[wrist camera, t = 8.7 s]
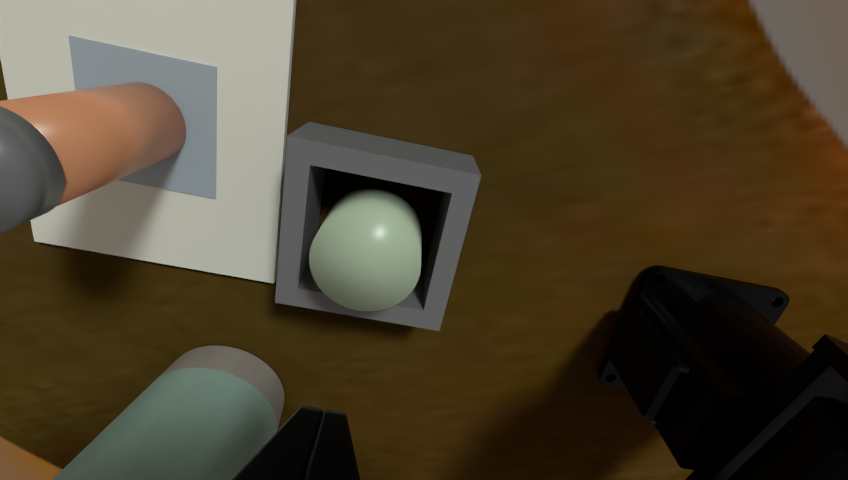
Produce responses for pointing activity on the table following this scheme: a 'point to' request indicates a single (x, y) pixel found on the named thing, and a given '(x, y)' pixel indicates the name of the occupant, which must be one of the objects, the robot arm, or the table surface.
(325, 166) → the button housing
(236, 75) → the paper
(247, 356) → the coffee cup
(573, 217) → the table surface
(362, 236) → the button
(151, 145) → the marker
